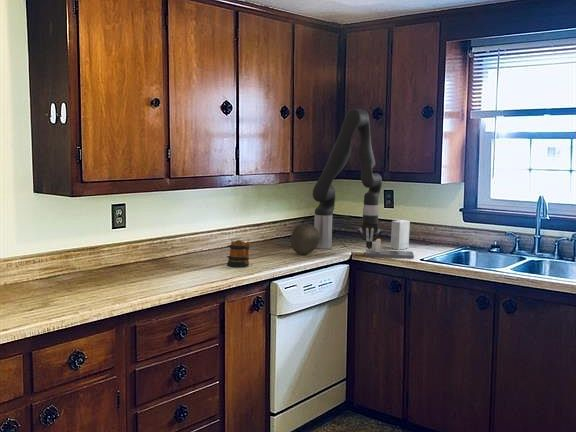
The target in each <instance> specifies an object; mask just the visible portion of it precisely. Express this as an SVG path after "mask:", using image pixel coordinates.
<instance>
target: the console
mask: <svg viewBox="0 0 576 432" xmlns="http://www.w3.org/2000/svg"><path fill="white" fill-rule="evenodd" d="M375 248H376V241H372V248H370V249H368V248H366V249H365V257H366V258H367V257H370V258H386V259H387V258H389V259H405V258H414V259H415V255H414V253H413V251H409V250H408V251H407V250H386V249H385V250H384V249H381V250H380V252H375Z"/></svg>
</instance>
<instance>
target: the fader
mask: <svg viewBox="0 0 576 432" xmlns="http://www.w3.org/2000/svg"><path fill="white" fill-rule="evenodd" d="M375 242H376V248H375V252H380V250H382V249H381V247H382V246H381V245H382V243H381V242H382V240H381V238H377V239H376V240H375Z"/></svg>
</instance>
